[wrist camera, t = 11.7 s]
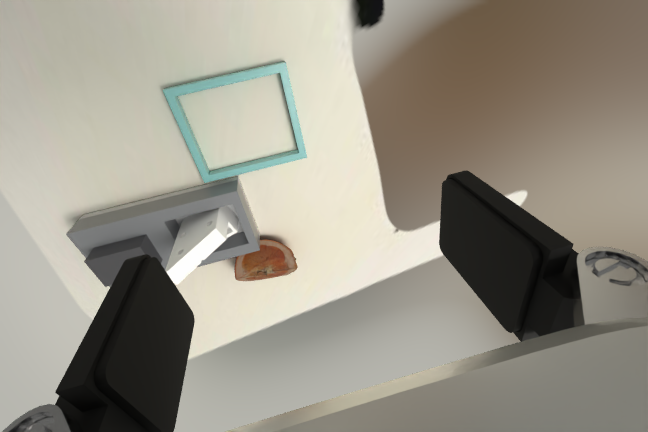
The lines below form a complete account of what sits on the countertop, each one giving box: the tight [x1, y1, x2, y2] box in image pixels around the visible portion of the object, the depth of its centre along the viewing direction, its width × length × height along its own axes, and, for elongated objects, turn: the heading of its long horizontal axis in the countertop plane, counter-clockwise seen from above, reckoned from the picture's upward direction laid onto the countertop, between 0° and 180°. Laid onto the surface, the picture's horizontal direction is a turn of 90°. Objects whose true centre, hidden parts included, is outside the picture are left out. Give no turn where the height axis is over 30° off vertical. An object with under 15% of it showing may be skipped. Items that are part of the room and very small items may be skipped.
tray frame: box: [163, 61, 307, 183], centre depth 34 cm, size 11×13×1 cm
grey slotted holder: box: [66, 176, 260, 287], centre depth 37 cm, size 9×19×6 cm, turn 100°
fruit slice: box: [235, 239, 297, 281], centre depth 43 cm, size 8×7×5 cm
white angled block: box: [165, 206, 238, 285], centre depth 36 cm, size 4×10×9 cm
